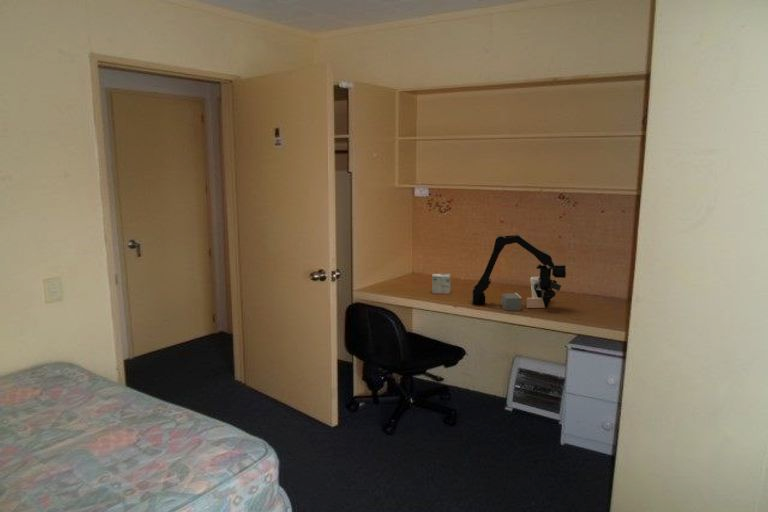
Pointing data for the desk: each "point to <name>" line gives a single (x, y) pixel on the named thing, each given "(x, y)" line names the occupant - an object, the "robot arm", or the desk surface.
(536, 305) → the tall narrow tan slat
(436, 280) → the light bulb box
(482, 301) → the robot arm
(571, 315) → the desk surface
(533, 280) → the foam cup
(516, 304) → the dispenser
